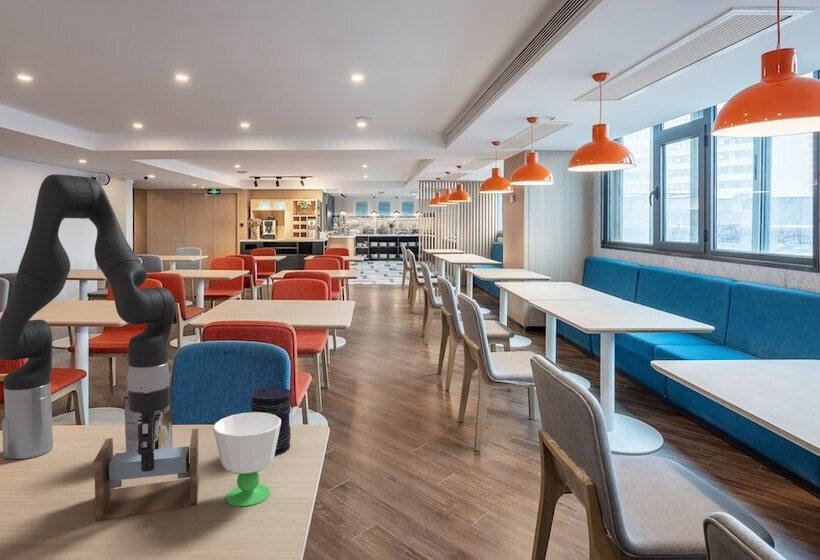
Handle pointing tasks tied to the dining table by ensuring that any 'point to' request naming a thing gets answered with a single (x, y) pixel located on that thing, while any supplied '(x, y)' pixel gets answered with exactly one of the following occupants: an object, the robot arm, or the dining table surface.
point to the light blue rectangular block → (164, 464)
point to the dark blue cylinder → (275, 411)
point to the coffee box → (132, 427)
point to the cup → (247, 452)
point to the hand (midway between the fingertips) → (150, 461)
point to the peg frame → (143, 488)
